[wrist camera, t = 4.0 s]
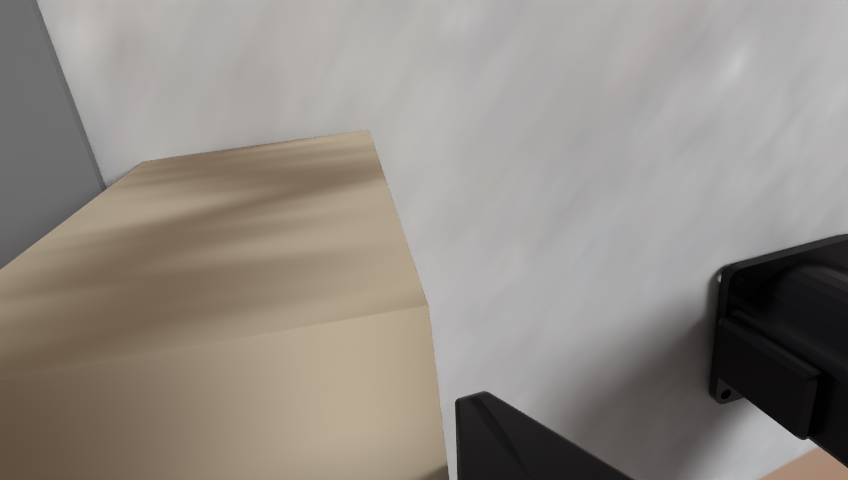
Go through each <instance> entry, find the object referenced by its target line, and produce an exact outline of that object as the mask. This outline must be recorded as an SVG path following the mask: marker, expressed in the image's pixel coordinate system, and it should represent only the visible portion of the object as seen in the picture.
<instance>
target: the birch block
mask: <svg viewBox="0 0 848 480" xmlns="http://www.w3.org/2000/svg"><path fill="white" fill-rule="evenodd" d="M0 480H449V474H448V466H447V457H446V449H445V441H444V432H443V424H442V416H441V407H440V399H439V390H438V382H437V374H436V365H435V357H434V349H433V340H432V332H431V324H430V315H429V307H428V303H427V300H426V297H425V294H424V291H423V288H422V285H421V282H420V279H419V276H418V273H417V270H416V267H415V265H414V262H413V259H412V256H411V253H410V250H409V247H408V244H407V241H406V238H405V235H404V232H403V229H402V226H401V223H400V220H399V217H398V214H397V211H396V208H395V205H394V203H393V200H392V197H391V194H390V191H389V188H388V185H387V182H386V179H385V176H384V173H383V170H382V167H381V164H380V161H379V158H378V155H377V152H376V149H375V146H374V143H373V141H372V138H371V135H370V132H369V130H364V131H357V132H350V133H343V134H336V135H328V136H321V137H314V138H307V139H300V140H293V141H285V142H278V143H271V144H264V145H257V146H249V147H242V148H235V149H228V150H221V151H213V152H206V153H199V154H192V155H185V156H177V157H170V158H163V159H157V160H150V161H144V162H142V163H140V164H139V165H138V166H136V167H135V168H134V169H132V170H131V171H130V172H129V173H127V174H126V175H125V176H123V177H122V178H121V179H119V180H118V181H117V182H115V183H114V184H113V185H111V186H110V187H109V188H107V189H106V190H105V191H103V192H102V193H101V194H100V195H98V196H97V197H96V198H94V199H93V200H92V201H90V202H89V203H88V204H86V205H85V206H84V207H82V208H81V209H80V210H78V211H77V212H76V213H74V214H73V215H72V216H71V217H69V218H68V219H67V220H65V221H64V222H63V223H61V224H60V225H59V226H57V227H56V228H55V229H53V230H52V231H51V232H49V233H48V234H47V235H45V236H44V237H43V238H41V239H40V240H39V241H38V242H36V243H35V244H34V245H32V246H31V247H30V248H28V249H27V250H26V251H24V252H23V253H22V254H20V255H19V256H18V257H16V258H15V259H14V260H12V261H11V262H10V263H9V264H7V265H6V266H5V267H3V268H2V269H1V270H0Z"/></svg>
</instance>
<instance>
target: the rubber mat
mask: <svg viewBox="0 0 848 480" xmlns="http://www.w3.org/2000/svg"><path fill="white" fill-rule="evenodd" d="M105 190H106V186H105V184H104V181H103V178H102V176H101V173H100V170H99V168H98V165H97V162H96V160H95V157H94V154H93V151H92V149H91V146H90V143H89V141H88V138H87V135H86V133H85V130H84V127H83V125H82V122H81V119H80V117H79V114H78V111H77V109H76V106H75V103H74V101H73V98H72V95H71V93H70V90H69V87H68V84H67V82H66V79H65V76H64V74H63V71H62V68H61V66H60V63H59V60H58V58H57V55H56V52H55V50H54V47H53V44H52V42H51V39H50V36H49V34H48V31H47V28H46V26H45V23H44V20H43V17H42V15H41V12H40V9H39V7H38V4H37V1H36V0H0V270H1V269H2V268H3V267H5V266H6V265H7V264H9V263H10V262H11V261H12V260H14V259H15V258H16V257H18V256H19V255H20V254H22V253H23V252H24V251H26V250H27V249H28V248H30V247H31V246H32V245H34V244H35V243H36V242H38V241H39V240H40V239H41V238H43V237H44V236H45V235H47V234H48V233H49V232H51V231H52V230H53V229H55V228H56V227H57V226H59V225H60V224H61V223H63V222H64V221H65V220H67V219H68V218H69V217H71V216H72V215H73V214H74V213H76V212H77V211H78V210H80V209H81V208H82V207H84V206H85V205H86V204H88V203H89V202H90V201H92V200H93V199H94V198H96V197H97V196H98V195H100V194H101V193H102V192H103V191H105Z"/></svg>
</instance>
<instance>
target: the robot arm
mask: <svg viewBox="0 0 848 480" xmlns="http://www.w3.org/2000/svg"><path fill="white" fill-rule="evenodd" d="M709 395H710V397H711V398H712V399H714V400H715V401H716V402H717V403H719V404H725V403H728V402H731V401H734V400H738V399H741V398H744V397H745V398H746V399H747V400H749V401H750V402H751V403H753V404H754V405H755V406H757V407H758V408H759V409H760V410H762V411H763V412H764V413H766V414H767V415H768V416H770V417H771V418H772V419H774V420H775V421H776V422H777V423H779V424H780V425H781V426H783V427H784V428H785V429H787V430H788V431H789V432H790V433H792V434H793V435H794V436H796V437H797V438H799V439H801V440H806V439H808V438H809V439H810V440H811V441H813V442H814V443H815V444H817V445H818V446H819V447H821V448H822V449H823V450H825V451H826V452H828V453H829V454H830V455H831V456H833V457H834V458H836V459H837V460H838V461H839V462H841V463H842V464H843V465H845V466H846V467H847V468H848V234H844V235H840V236H837V237H833V238H829V239H825V240H822V241H818V242H814V243H810V244H807V245H803V246H799V247H796V248H792V249H788V250H784V251H781V252H777V253H773V254H769V255H766V256H762V257H758V258H755V259H751V260H747V261H743V262H740V263H736V264H733V265H730V266H729V267H727V268H726V269H725V270H724V272H723V274H722V277H721V283H720V292H719V302H718V311H717V321H716V330H715V340H714V349H713V359H712V368H711V377H710V387H709ZM455 414H456V445H457V475H458V480H634V479H633V478H631V477H629V476H628V475H626V474H624V473H623V472H621V471H619V470H618V469H616V468H614V467H613V466H611V465H609V464H608V463H606V462H604V461H603V460H601V459H599V458H598V457H596V456H594V455H593V454H591V453H589V452H587V451H586V450H584V449H582V448H581V447H579V446H577V445H576V444H574V443H572V442H571V441H569V440H567V439H566V438H564V437H562V436H561V435H559V434H557V433H556V432H554V431H552V430H551V429H549V428H547V427H546V426H544V425H542V424H541V423H539V422H537V421H536V420H534V419H532V418H531V417H529V416H527V415H526V414H524V413H522V412H521V411H519V410H517V409H516V408H514V407H512V406H511V405H509V404H507V403H506V402H504V401H502V400H501V399H499V398H497V397H496V396H494V395H492V394H491V393H489V392H486V391H483V392H479V393H475V394H472V395H468V396H465V397H461V398H458V399H457V400H456V402H455Z"/></svg>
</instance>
